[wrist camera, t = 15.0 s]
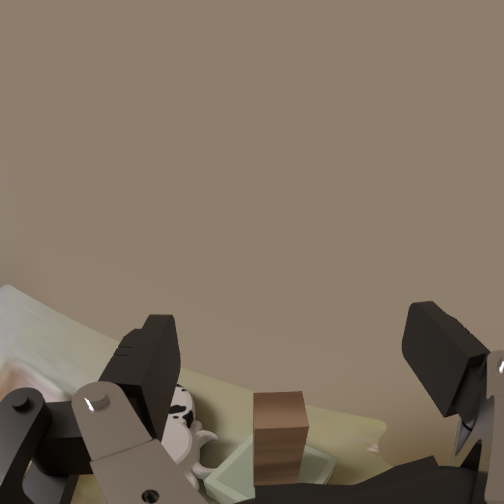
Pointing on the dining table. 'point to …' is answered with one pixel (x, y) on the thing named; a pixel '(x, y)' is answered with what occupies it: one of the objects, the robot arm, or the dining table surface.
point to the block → (278, 437)
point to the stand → (241, 473)
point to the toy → (186, 437)
